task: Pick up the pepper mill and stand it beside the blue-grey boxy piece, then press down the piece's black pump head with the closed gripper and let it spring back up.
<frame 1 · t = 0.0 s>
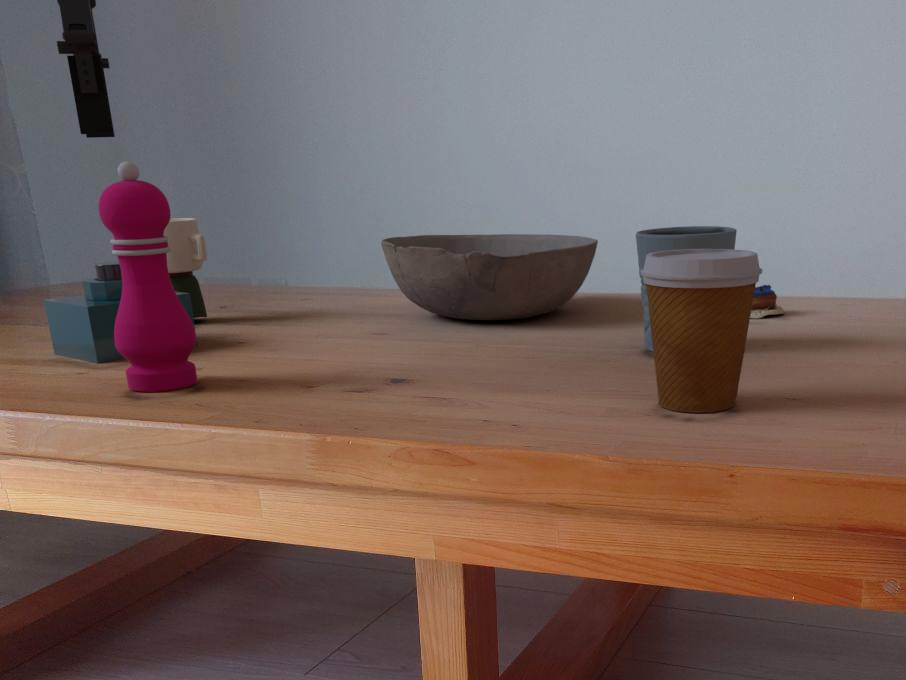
hand: (99, 136, 99), 22 cm above the table, tool pointing down, fingers open, 13 cm apart
blue-grey boxy piece: (126, 350, 115), on the table
dessert: (753, 315, 127), on the table
pepper mill: (163, 387, 96), on the table
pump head: (113, 272, 111), point 9 cm above the table, slide at 0.1 cm
grey cup: (682, 349, 107), on the table
disposable coffee cup: (696, 406, 83), on the table
character mug: (183, 324, 133), on the table
bowl: (493, 316, 133), on the table
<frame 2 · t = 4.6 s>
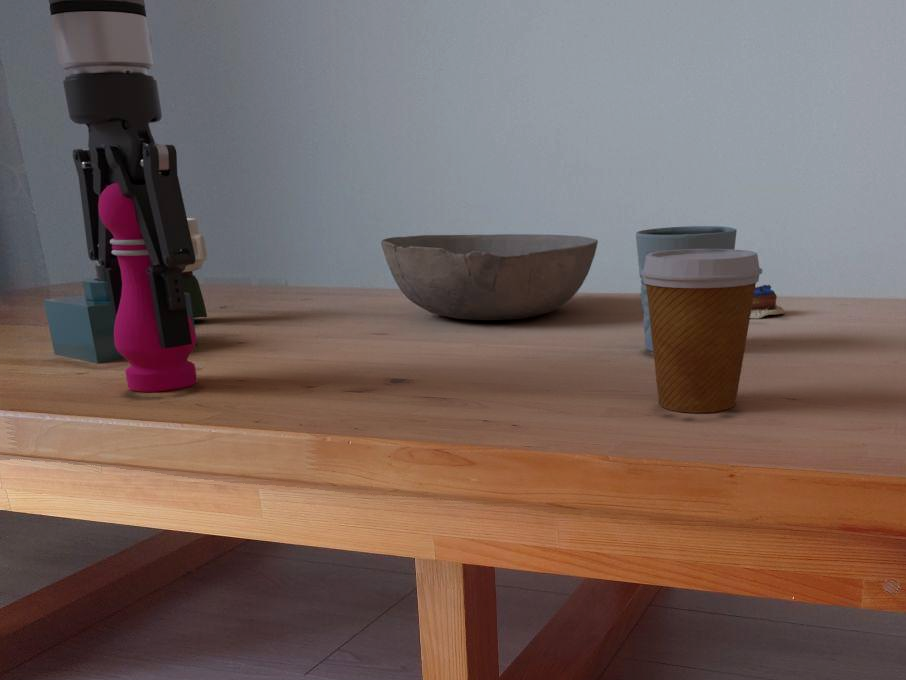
hand: (153, 341, 94), 4 cm above the table, tool pointing down, fingers closed on pepper mill, 7 cm apart
pepper mill: (163, 387, 96), on the table, touching gripper
everything else where it was.
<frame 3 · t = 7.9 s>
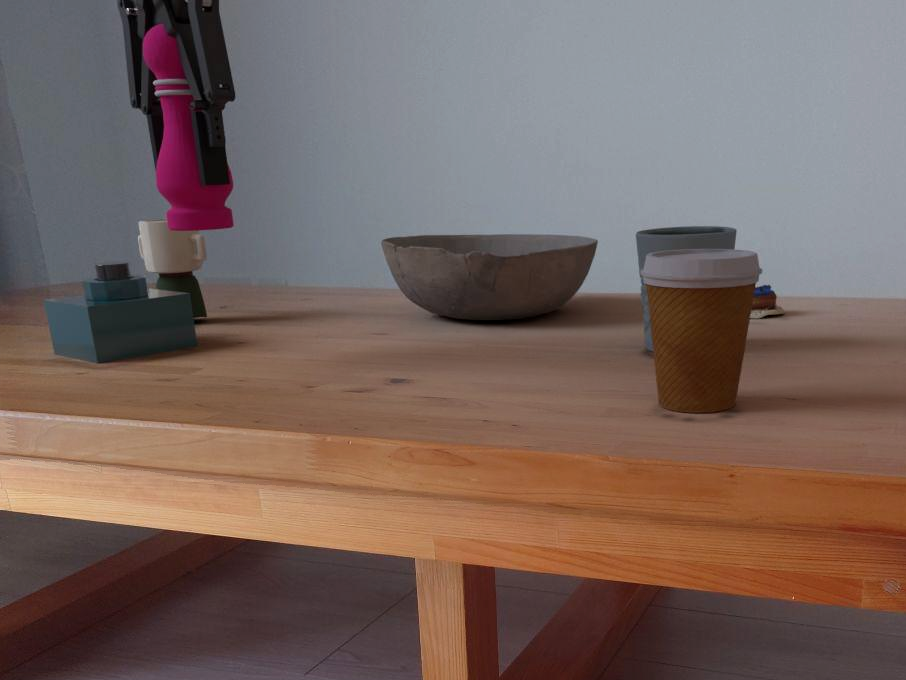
hand: (193, 184, 99), 18 cm above the table, tool pointing down, fingers closed on pepper mill, 7 cm apart
pepper mill: (201, 230, 101), point 13 cm above the table, touching gripper
everything else where it was.
when the fingers open (4 cm above the table, at t = 11.3 s): pepper mill stays where it is, on the table.
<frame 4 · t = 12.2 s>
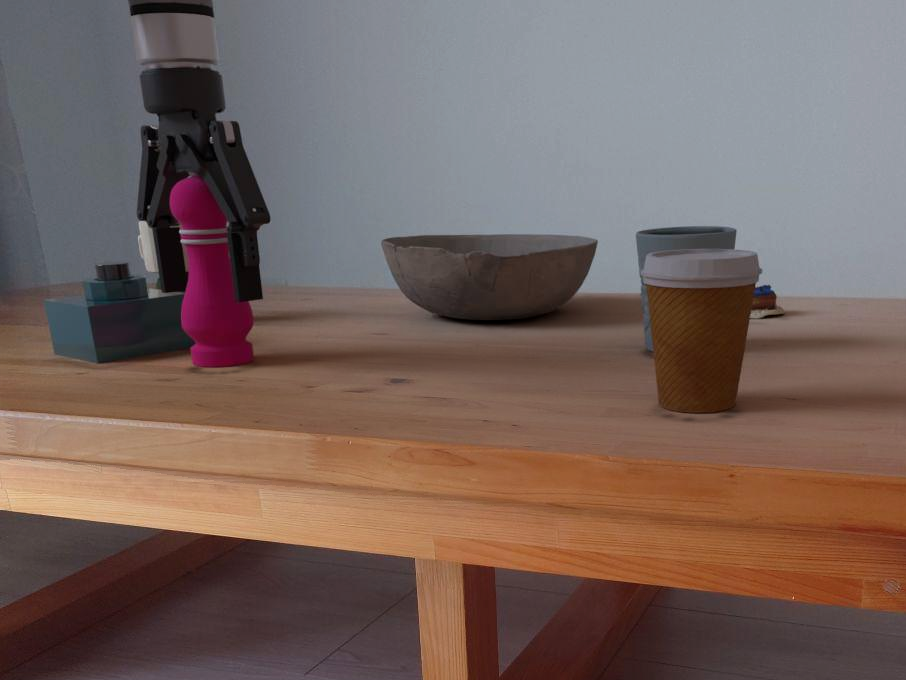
hand: (210, 296, 104), 7 cm above the table, tool pointing down, fingers open, 13 cm apart
pepper mill: (223, 363, 106), on the table
everything else where it was.
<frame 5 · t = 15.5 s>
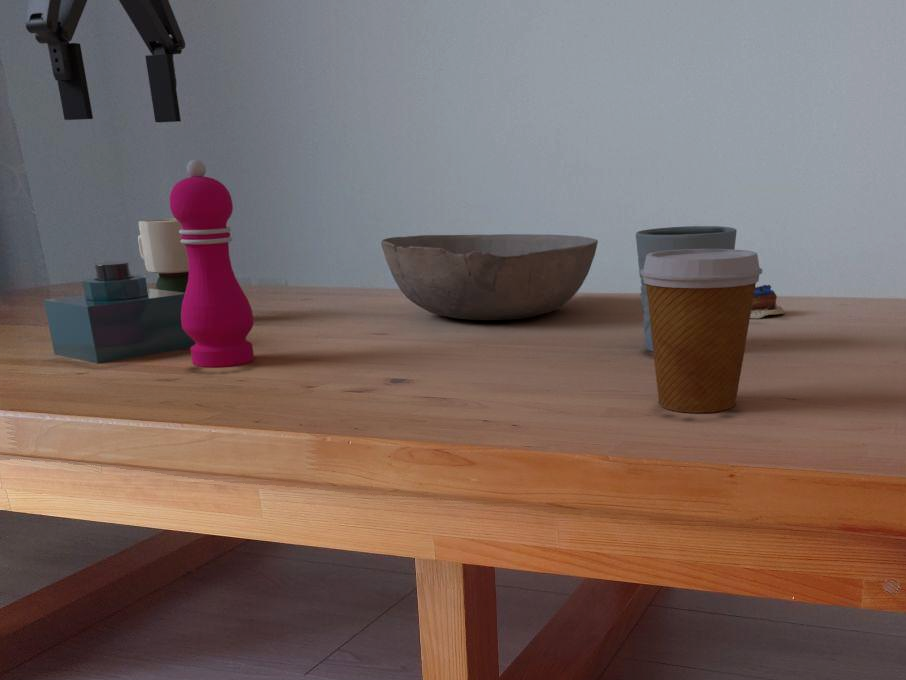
hand: (126, 121, 103), 24 cm above the table, tool pointing down, fingers open, 13 cm apart
nothing on the table moved.
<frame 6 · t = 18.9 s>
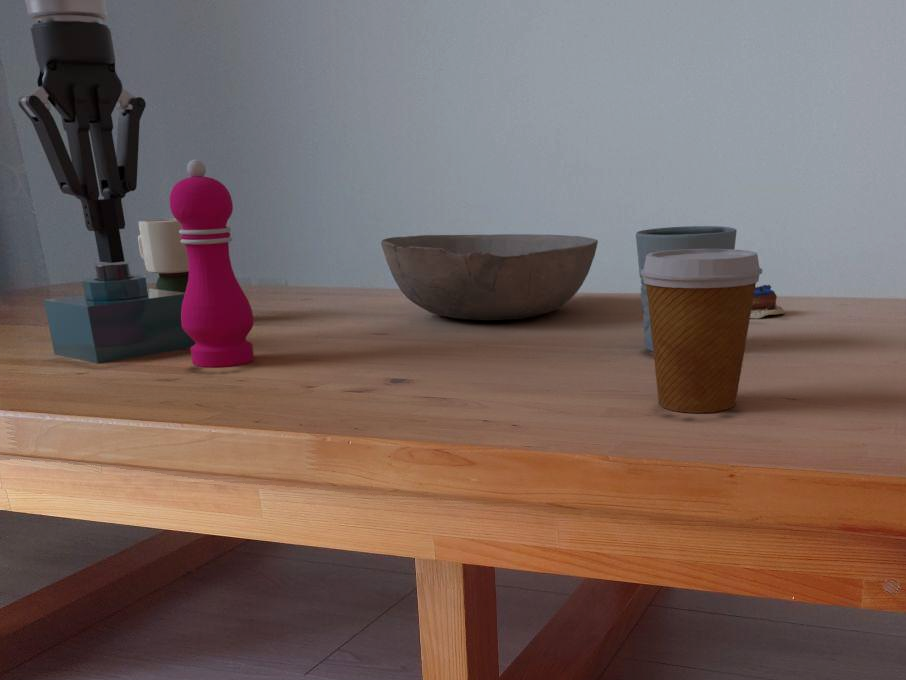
hand: (112, 261, 111), 10 cm above the table, tool pointing down, fingers closed
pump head: (113, 273, 111), point 9 cm above the table, slide at 0.0 cm, touching gripper
everything else where it was.
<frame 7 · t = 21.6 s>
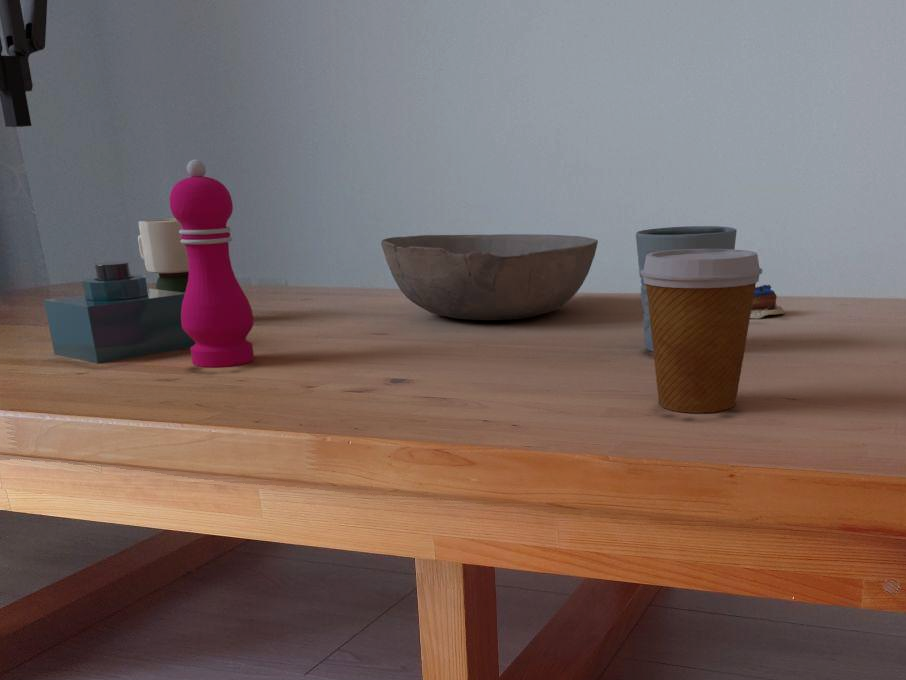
hand: (18, 126, 104), 24 cm above the table, tool pointing down, fingers closed
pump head: (113, 272, 111), point 9 cm above the table, slide at 0.1 cm
everything else where it was.
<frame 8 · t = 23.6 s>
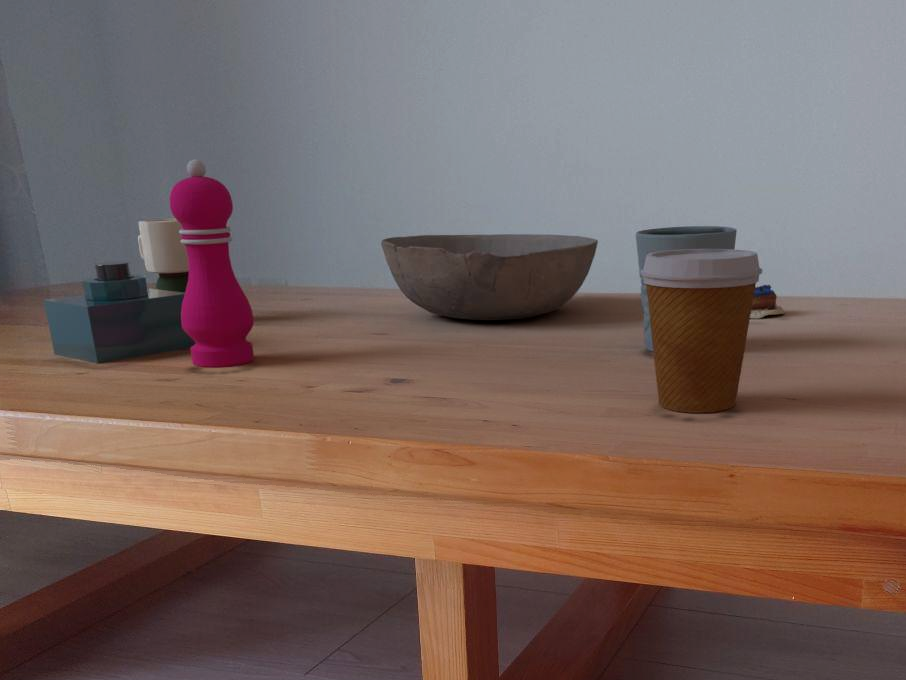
nothing on the table moved.
at the end: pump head pushed in 1.2 cm at the most during the clip, back to where it started at the end; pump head slide at 0.1 cm; pepper mill inside the target area on the table beside the blue-grey boxy piece (0.3 cm from its centre), on the table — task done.
